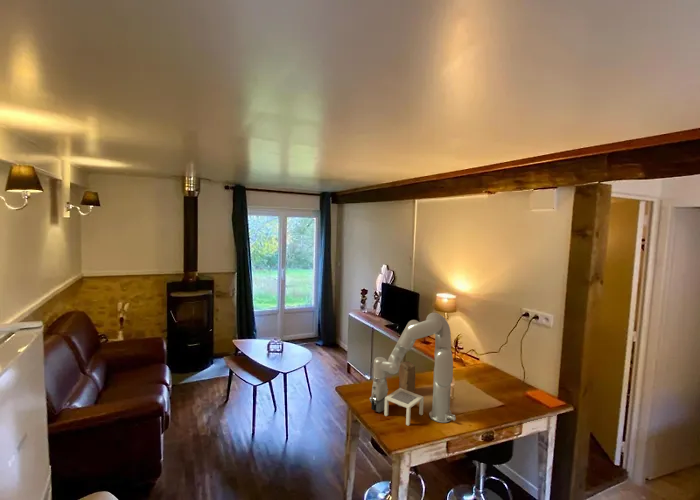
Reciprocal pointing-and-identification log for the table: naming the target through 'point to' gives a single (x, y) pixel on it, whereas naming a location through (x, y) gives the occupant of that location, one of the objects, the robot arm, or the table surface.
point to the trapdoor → (404, 397)
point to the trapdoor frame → (408, 406)
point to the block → (407, 376)
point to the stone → (380, 405)
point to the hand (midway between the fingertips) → (378, 406)
